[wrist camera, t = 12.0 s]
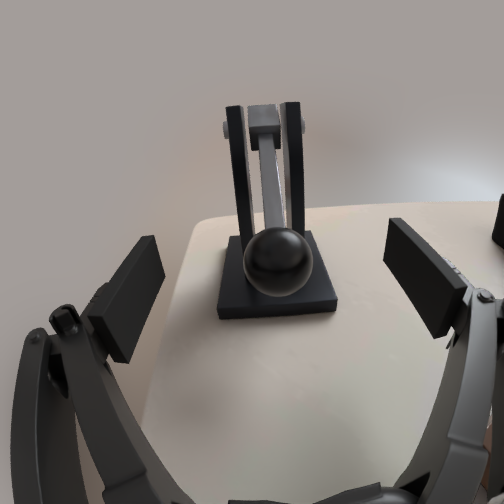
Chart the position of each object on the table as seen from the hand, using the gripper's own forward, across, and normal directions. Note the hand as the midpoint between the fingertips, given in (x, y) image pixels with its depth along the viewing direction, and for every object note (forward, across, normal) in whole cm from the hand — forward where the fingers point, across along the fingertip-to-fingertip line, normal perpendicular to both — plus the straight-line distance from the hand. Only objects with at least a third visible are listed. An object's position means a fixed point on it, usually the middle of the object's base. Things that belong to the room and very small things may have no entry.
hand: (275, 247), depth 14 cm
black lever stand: (+8, 0, -7) cm, 11 cm away
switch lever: (+5, 0, +1) cm, 5 cm away
